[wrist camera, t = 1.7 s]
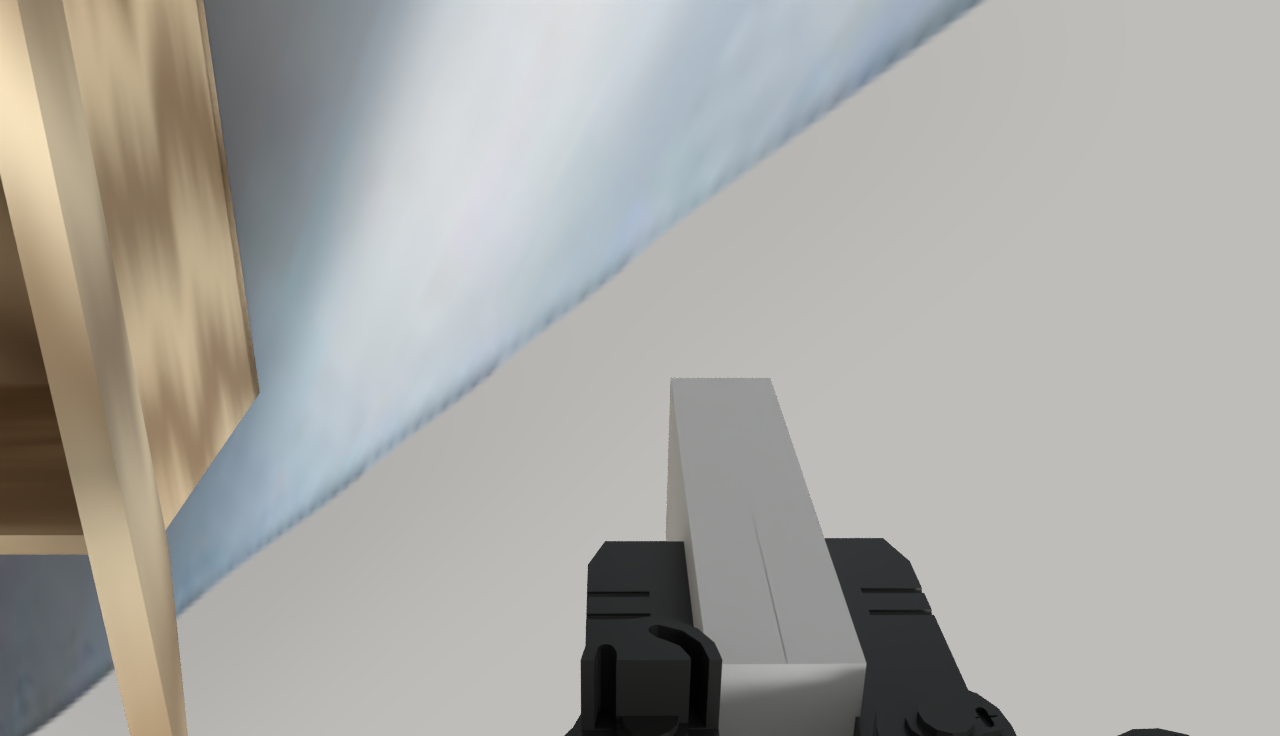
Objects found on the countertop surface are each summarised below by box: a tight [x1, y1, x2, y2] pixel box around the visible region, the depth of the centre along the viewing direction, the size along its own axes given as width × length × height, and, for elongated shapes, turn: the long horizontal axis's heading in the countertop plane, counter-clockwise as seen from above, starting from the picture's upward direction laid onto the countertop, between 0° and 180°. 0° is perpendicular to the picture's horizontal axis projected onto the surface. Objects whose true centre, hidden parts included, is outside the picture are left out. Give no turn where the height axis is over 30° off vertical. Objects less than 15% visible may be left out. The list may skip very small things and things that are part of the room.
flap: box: [0, 0, 188, 736], centre depth 20 cm, size 17×11×1 cm
